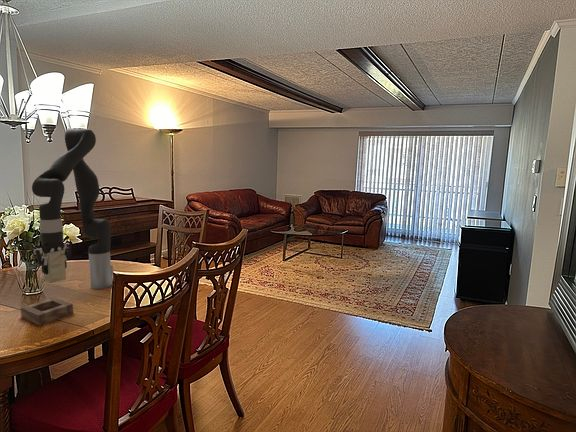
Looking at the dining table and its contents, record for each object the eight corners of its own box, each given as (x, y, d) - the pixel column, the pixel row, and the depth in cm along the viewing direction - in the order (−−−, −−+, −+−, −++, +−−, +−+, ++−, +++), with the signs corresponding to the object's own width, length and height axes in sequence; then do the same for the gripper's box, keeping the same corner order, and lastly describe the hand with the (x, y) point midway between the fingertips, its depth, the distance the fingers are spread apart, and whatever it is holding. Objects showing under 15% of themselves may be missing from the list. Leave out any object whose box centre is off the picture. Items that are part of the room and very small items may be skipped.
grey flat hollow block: (55, 306, 161) (54, 297, 161) (73, 313, 155) (72, 304, 154) (21, 317, 150) (20, 307, 150) (39, 325, 144) (38, 315, 143)
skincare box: (51, 283, 148) (48, 253, 146) (44, 281, 150) (41, 251, 148) (66, 279, 153) (64, 249, 151) (60, 277, 155) (57, 248, 153)
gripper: (64, 226, 156) (66, 266, 159) (26, 232, 144) (29, 275, 146) (75, 228, 153) (78, 268, 155) (37, 234, 140) (41, 278, 143)
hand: (54, 271), depth 151 cm, fingers closed on skincare box, 6 cm apart
